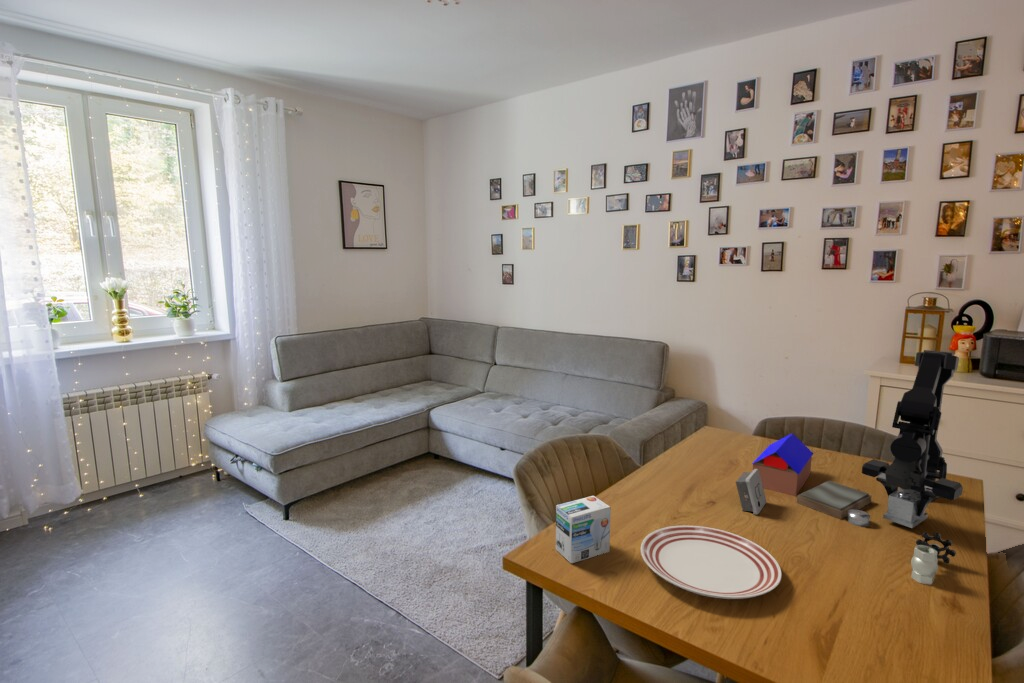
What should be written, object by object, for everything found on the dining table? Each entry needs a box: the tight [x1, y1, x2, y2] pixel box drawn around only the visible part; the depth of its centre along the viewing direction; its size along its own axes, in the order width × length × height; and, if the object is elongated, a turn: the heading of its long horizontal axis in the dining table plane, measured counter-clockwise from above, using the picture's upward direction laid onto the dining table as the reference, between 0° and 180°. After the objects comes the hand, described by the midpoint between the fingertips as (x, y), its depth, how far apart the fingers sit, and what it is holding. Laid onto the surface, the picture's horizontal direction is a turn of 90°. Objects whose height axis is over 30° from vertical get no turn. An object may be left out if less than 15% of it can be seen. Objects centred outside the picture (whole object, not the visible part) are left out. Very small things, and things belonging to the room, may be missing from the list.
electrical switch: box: [735, 469, 767, 516], centre depth 136 cm, size 9×5×9 cm, turn 141°
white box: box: [555, 495, 612, 564], centre depth 116 cm, size 11×7×11 cm, turn 117°
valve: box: [910, 531, 957, 586], centre depth 107 cm, size 7×7×12 cm
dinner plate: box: [640, 524, 782, 600], centre depth 109 cm, size 28×27×3 cm
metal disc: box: [847, 509, 871, 528], centre depth 128 cm, size 4×4×2 cm
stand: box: [796, 480, 872, 520], centre depth 138 cm, size 16×11×2 cm
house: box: [751, 432, 814, 497], centre depth 152 cm, size 12×20×12 cm, turn 140°
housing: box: [882, 487, 929, 529], centre depth 126 cm, size 9×6×7 cm, turn 123°
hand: (906, 511), depth 127 cm, fingers closed on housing, 5 cm apart
